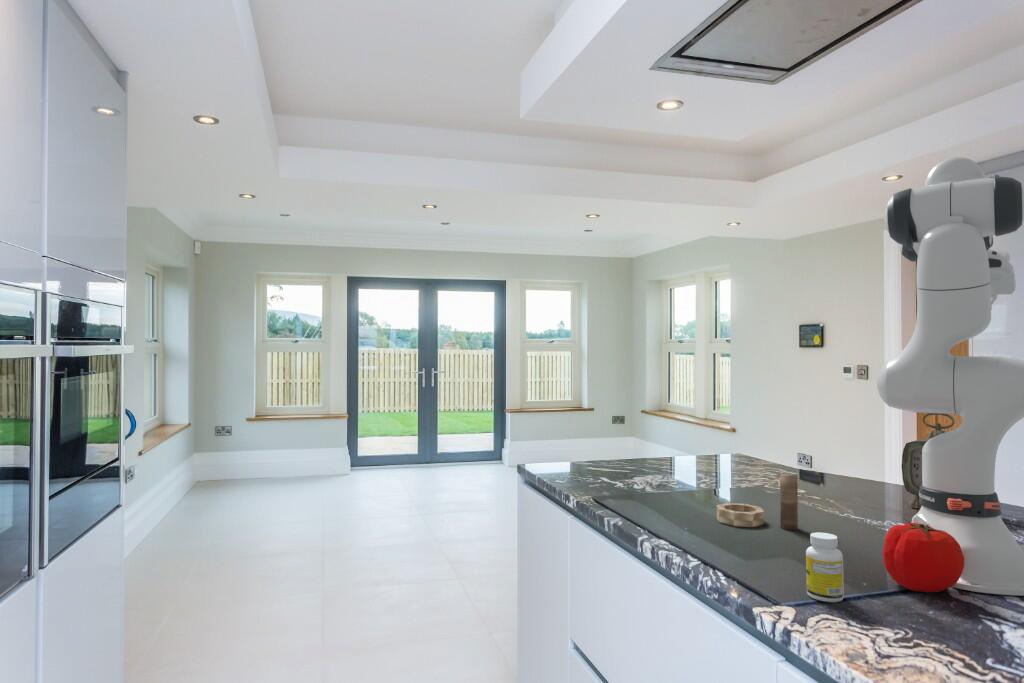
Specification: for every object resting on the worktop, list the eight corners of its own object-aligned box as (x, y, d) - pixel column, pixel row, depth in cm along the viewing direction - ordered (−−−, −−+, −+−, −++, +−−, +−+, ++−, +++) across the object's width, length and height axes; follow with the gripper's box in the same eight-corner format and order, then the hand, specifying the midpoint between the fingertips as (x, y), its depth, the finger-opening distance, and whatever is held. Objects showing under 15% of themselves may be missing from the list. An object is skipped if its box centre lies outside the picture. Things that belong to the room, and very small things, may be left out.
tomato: (882, 572, 113) (882, 510, 113) (961, 585, 107) (960, 519, 107) (882, 594, 103) (881, 525, 103) (968, 608, 97) (967, 535, 97)
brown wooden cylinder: (799, 530, 141) (799, 476, 141) (782, 529, 141) (782, 476, 142) (795, 526, 144) (795, 473, 145) (778, 525, 145) (778, 473, 145)
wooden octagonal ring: (766, 527, 143) (766, 514, 143) (720, 525, 145) (720, 512, 145) (758, 516, 153) (758, 504, 153) (715, 514, 155) (715, 502, 155)
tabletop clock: (901, 507, 163) (901, 411, 164) (912, 502, 169) (911, 409, 170) (969, 518, 153) (968, 415, 153) (978, 512, 159) (977, 413, 159)
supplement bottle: (811, 588, 105) (810, 529, 106) (847, 596, 102) (846, 535, 102) (802, 597, 101) (801, 536, 101) (839, 606, 98) (838, 542, 98)
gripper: (914, 264, 163) (915, 314, 167) (1015, 260, 150) (1014, 314, 154) (918, 257, 167) (919, 305, 172) (1016, 252, 154) (1015, 305, 159)
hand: (965, 310), depth 163 cm, fingers open, 8 cm apart
